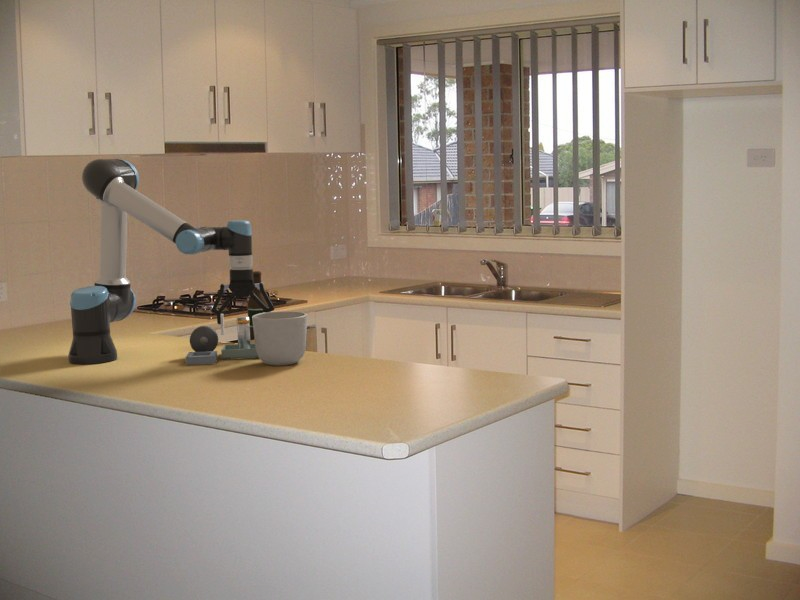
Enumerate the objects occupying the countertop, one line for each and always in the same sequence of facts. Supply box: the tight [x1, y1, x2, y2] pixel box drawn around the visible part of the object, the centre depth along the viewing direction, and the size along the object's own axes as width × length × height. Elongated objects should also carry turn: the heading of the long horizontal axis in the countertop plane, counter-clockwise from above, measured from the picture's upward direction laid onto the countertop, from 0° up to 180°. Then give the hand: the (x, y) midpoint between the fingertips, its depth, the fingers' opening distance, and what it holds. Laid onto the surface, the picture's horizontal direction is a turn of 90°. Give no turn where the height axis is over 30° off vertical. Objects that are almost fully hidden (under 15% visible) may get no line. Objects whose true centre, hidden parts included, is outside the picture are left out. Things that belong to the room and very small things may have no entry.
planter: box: [252, 310, 308, 367], centre depth 314 cm, size 17×17×15 cm
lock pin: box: [236, 315, 251, 349], centre depth 329 cm, size 4×4×12 cm
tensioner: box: [185, 325, 219, 366], centre depth 324 cm, size 9×17×10 cm, turn 5°
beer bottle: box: [247, 270, 269, 340], centre depth 363 cm, size 8×8×24 cm
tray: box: [220, 343, 260, 360], centre depth 329 cm, size 14×10×3 cm
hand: (244, 333), depth 329 cm, fingers open, 13 cm apart
